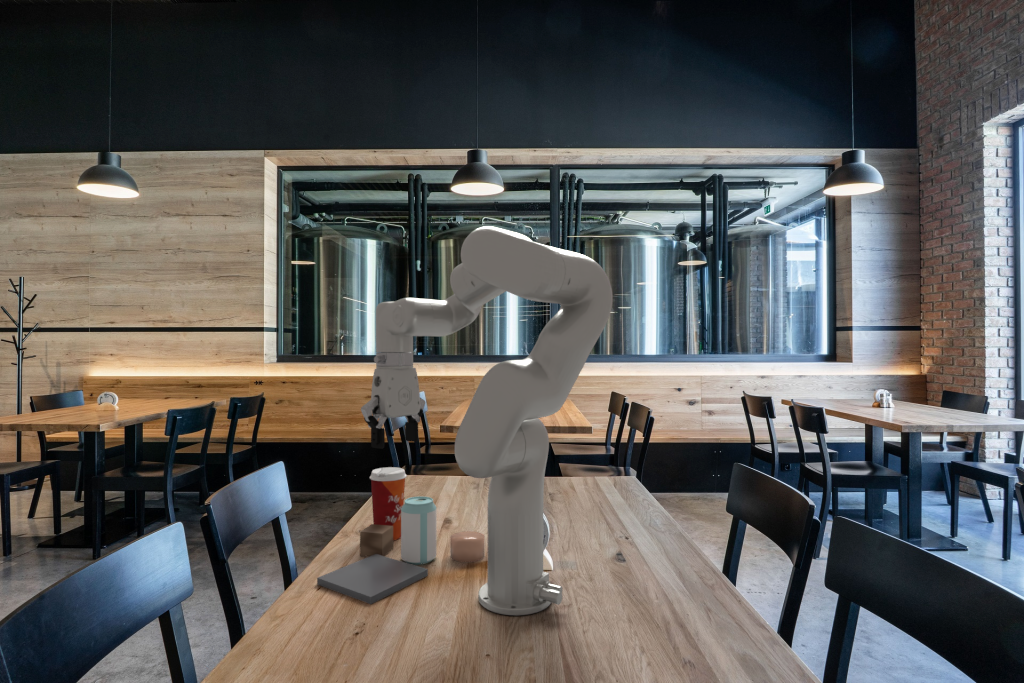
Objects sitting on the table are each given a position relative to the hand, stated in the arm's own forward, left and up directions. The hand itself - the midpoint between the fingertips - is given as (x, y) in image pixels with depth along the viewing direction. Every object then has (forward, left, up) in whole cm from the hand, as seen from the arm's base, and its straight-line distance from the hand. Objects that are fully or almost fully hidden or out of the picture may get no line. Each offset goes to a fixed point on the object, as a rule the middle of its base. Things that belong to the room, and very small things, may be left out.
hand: (395, 444), depth 114 cm
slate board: (-5, +11, -23) cm, 26 cm away
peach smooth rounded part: (-12, -8, -23) cm, 27 cm away
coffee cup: (+10, -7, -23) cm, 26 cm away
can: (-5, -1, -23) cm, 24 cm away
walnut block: (+5, +1, -23) cm, 23 cm away
